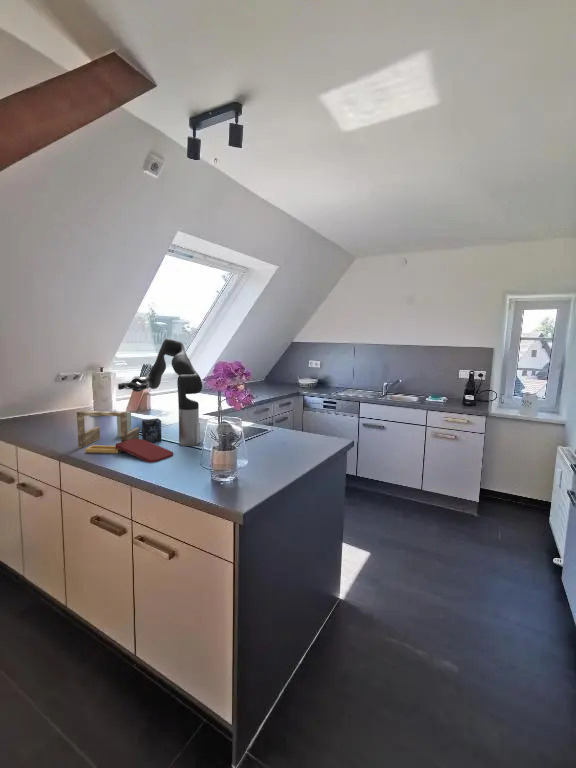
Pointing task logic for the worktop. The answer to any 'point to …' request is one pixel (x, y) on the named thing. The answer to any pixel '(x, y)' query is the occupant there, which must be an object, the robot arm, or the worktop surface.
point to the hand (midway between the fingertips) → (127, 387)
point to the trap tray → (103, 449)
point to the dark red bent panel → (144, 450)
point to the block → (120, 424)
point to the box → (151, 430)
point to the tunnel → (94, 433)
